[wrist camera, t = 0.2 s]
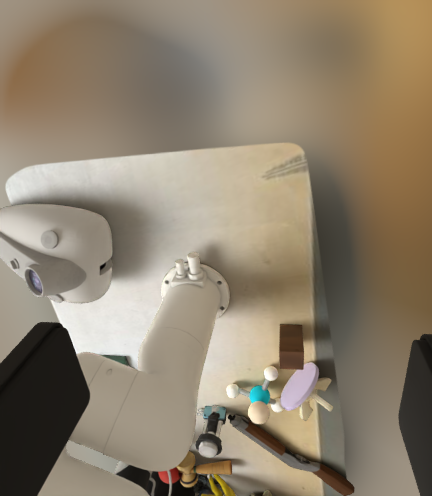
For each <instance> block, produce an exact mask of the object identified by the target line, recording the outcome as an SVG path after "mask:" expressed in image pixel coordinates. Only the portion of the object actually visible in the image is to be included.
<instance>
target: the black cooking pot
mask: <svg viewBox="0 0 432 496" xmlns="http://www.w3.org/2000/svg"><path fill="white" fill-rule="evenodd" d="M151 478H153V479H154V480H155V489H154V496H169V487H170V484H167V483H165V482H163V481H162V480H161V479H160V477H159V473H158V471H152V474H151ZM152 488H153V482H152V481H151V480H149V481H148V484H147V488H146V492H147V493H148V494H149V496H151V493H152ZM193 488H194V486H192V487H184V486H183V485H182V484H181V482H180V479H179V480H178V481H177V482H175V483H172V492H171V496H195V491H193Z"/></svg>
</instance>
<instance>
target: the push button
mask: <svg viewBox="0 0 432 496" xmlns="http://www.w3.org/2000/svg"><path fill="white" fill-rule="evenodd" d="M199 410H201V411H199ZM198 412H203V413H197V415H199V414H200V416H203V418H204V423H205V424H204V429H203V433H202V434H201V435H200V436H199V438H198V440H197V441H196V448H197V450H198V451H199V453H200V454H201V455H202V456H204V457H207V458H213V457H215V456H216V455H218V454H220V453H221V451H222V446H221V440H220V438H219V436H220V430H221V425H223V424H225V421H226V408H224V407H217V406H216V405H213V406H212V407H211V406H206V407H205V409H198ZM207 427H208V429H207ZM206 432H207V433H206ZM216 432H217V433H216Z"/></svg>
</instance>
